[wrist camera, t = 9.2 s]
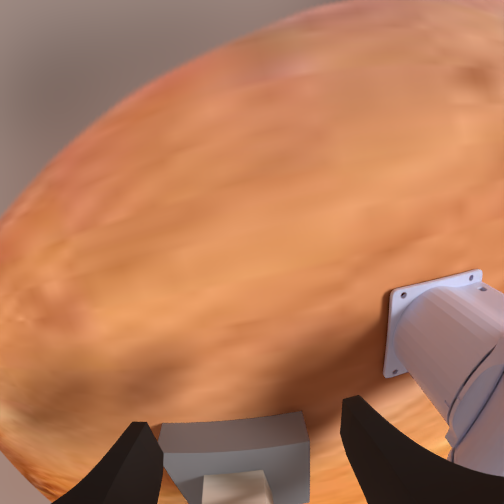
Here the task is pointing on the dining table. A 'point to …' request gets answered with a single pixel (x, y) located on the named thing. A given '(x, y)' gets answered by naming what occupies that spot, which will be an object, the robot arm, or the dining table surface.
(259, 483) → the birch block
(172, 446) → the charcoal box
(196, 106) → the dining table surface
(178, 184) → the dining table surface
